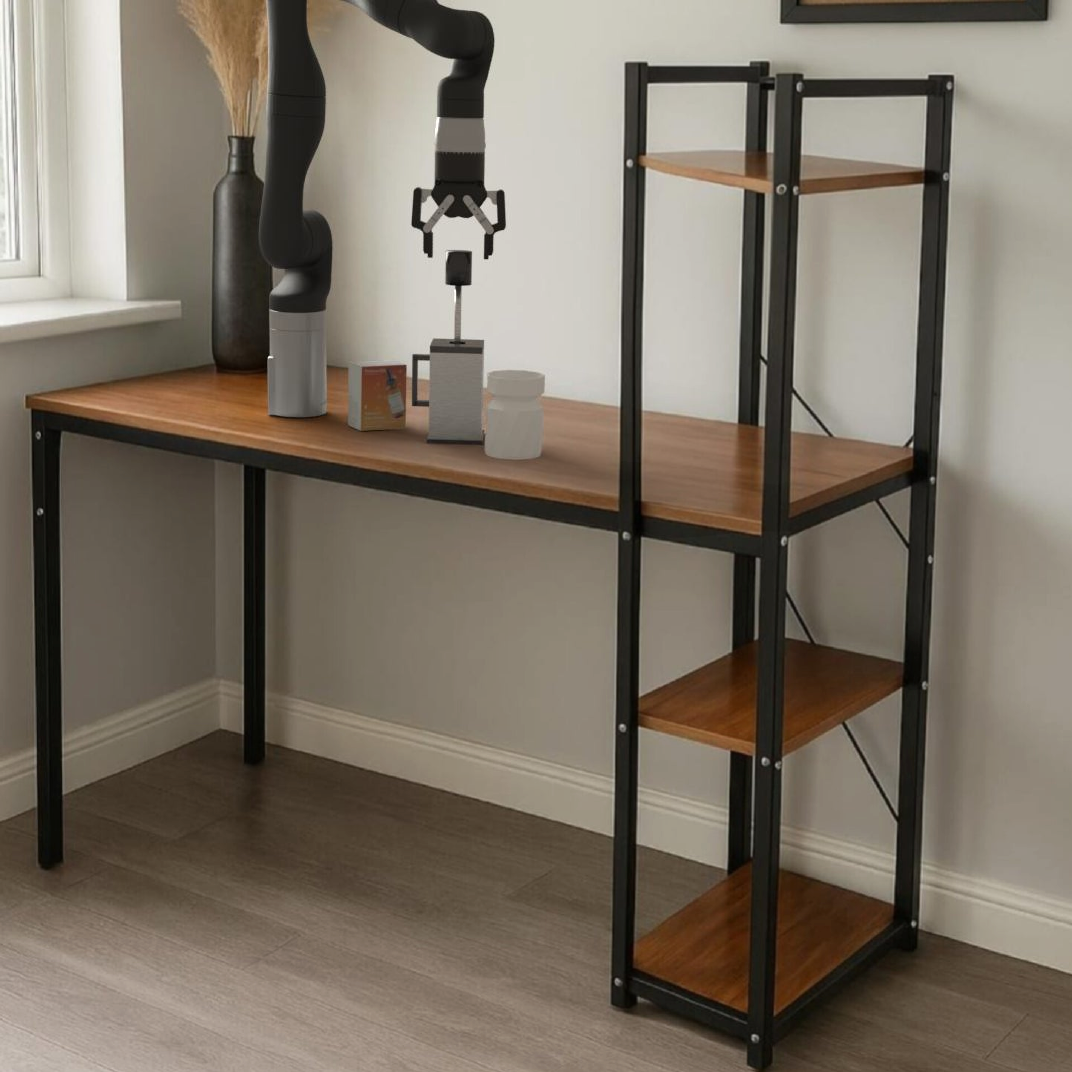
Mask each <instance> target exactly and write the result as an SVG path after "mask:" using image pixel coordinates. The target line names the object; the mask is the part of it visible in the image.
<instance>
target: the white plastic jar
mask: <svg viewBox="0 0 1072 1072" xmlns="http://www.w3.org/2000/svg"><path fill="white" fill-rule="evenodd" d="M486 374H487V375H486V376H487V378H486V379H487V385H486V392H487V393H488V395H490V396H491V397H492V398H493V399H492V400H491V401H489V402H487V403H486V405H485V422H486V428H485V433H484V453H485V455H487V456H488V457H491V458H495V459H500V460H516V461H517V460H519V461H520V460H533V459H536V458H538V457H541V453H542V450H543V440H544V406H543V404H542V403H541V402H540V401H539V400H538V398H540V397H541V396H542V395H544V393H545V385H546V377H545V376H546V375H545V373H544V374H543V373H541V372H538V371H531V370H522V369H521V370H518V369H516V370H515V369H503V370H493V371H490V372H487V373H486Z"/></svg>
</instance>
